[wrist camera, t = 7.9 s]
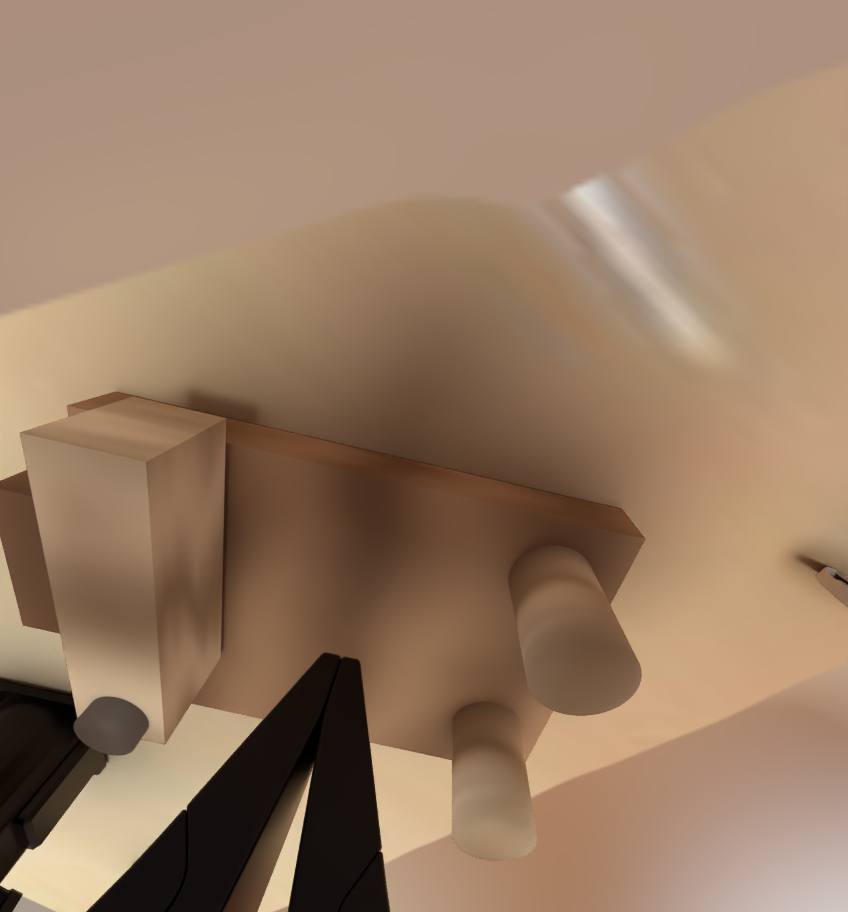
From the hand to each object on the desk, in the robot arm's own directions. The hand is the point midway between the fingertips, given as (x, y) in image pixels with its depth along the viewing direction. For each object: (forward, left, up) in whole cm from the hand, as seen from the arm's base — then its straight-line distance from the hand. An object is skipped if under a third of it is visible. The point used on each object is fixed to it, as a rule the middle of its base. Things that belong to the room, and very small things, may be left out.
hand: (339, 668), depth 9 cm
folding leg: (-7, -3, -5) cm, 9 cm away
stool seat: (-1, -5, -8) cm, 9 cm away
